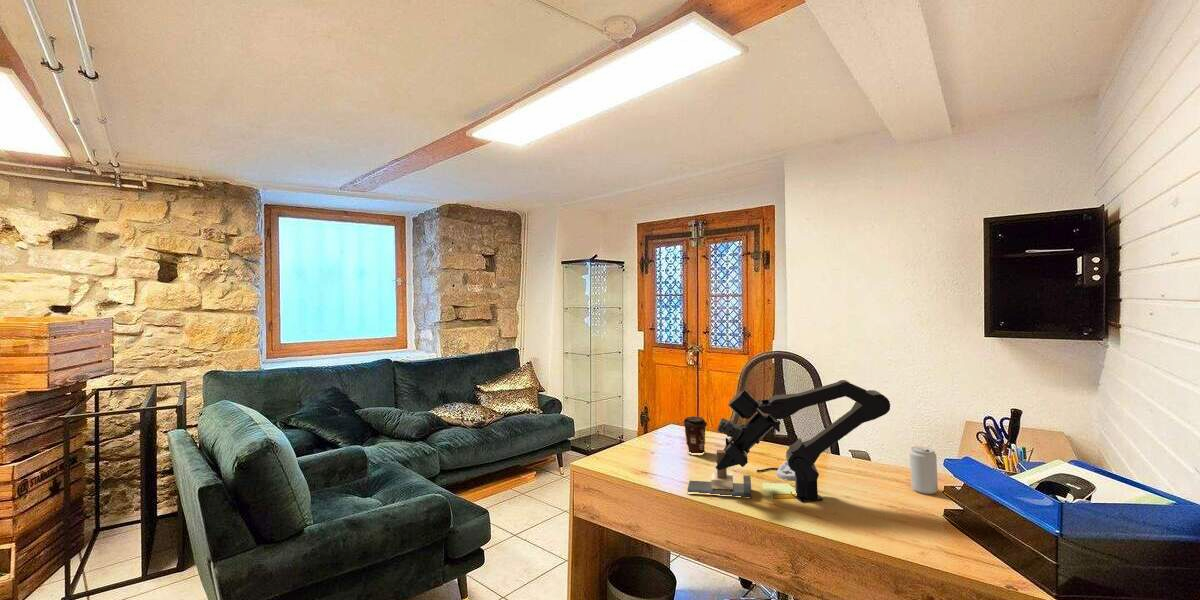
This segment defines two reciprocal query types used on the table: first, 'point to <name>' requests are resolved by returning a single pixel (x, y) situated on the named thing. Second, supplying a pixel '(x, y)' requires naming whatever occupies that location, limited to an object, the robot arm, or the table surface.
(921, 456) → the beverage can
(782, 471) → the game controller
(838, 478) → the table surface
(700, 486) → the clamp rail
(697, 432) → the coffee cup
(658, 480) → the table surface
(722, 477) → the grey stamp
